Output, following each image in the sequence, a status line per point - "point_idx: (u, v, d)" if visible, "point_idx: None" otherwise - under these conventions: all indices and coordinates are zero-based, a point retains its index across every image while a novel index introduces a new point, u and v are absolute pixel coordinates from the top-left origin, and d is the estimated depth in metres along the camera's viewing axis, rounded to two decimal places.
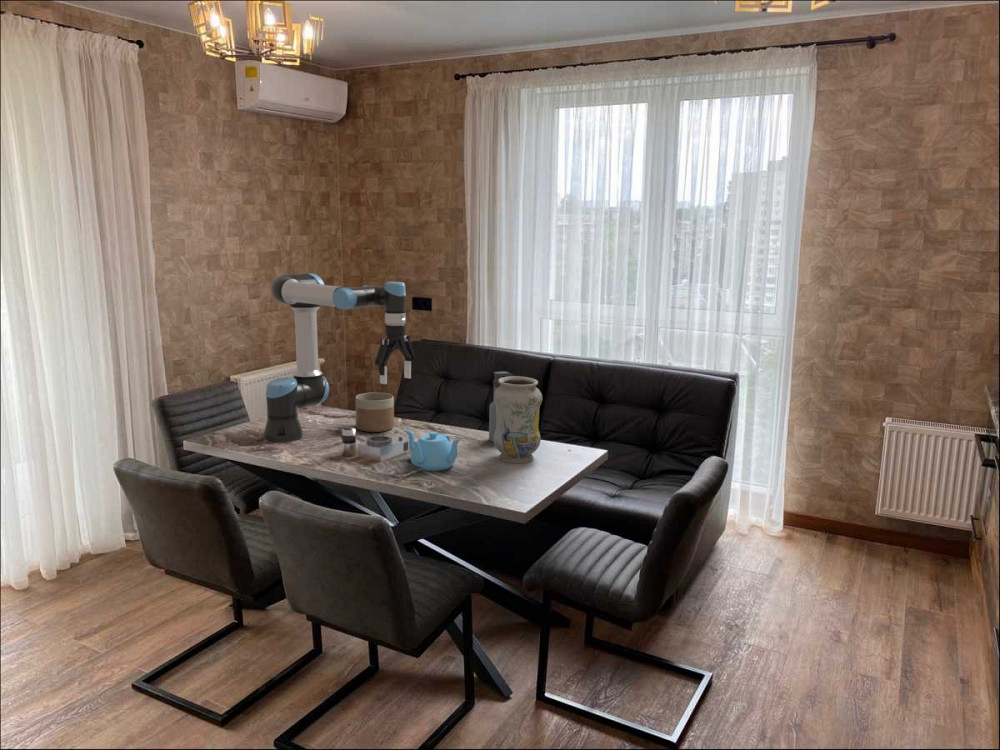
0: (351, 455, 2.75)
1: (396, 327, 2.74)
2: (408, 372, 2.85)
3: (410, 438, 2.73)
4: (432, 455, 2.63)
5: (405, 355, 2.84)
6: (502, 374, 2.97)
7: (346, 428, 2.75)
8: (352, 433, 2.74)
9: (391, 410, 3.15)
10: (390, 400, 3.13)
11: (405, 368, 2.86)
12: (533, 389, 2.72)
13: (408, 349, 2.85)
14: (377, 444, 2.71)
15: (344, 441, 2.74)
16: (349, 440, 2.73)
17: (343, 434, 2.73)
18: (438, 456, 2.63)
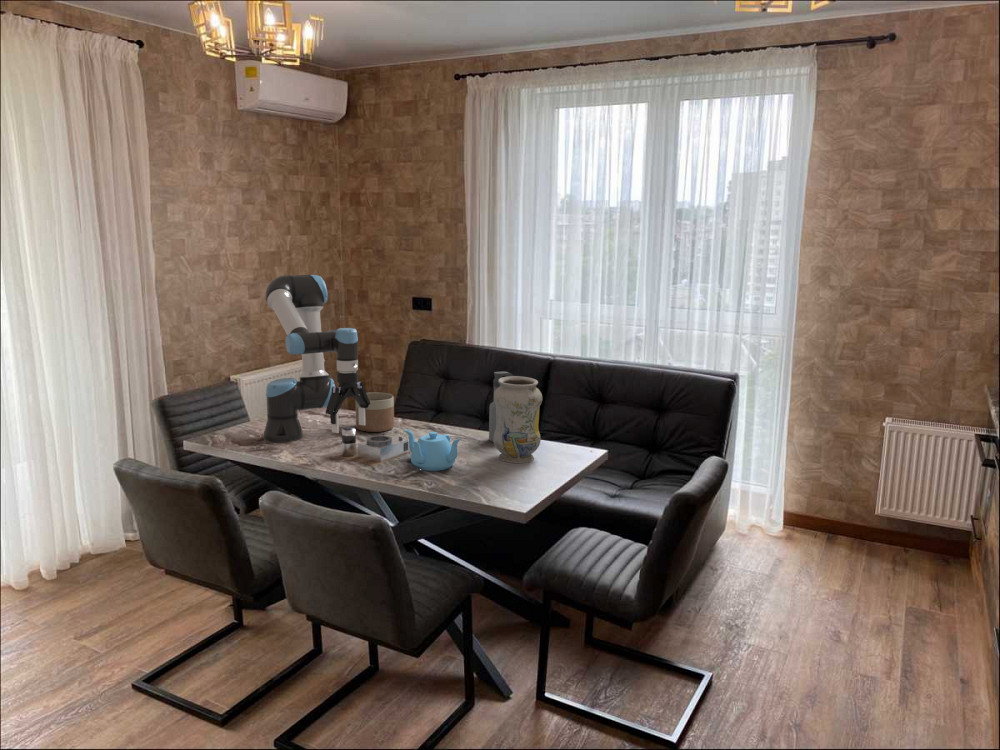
0: (351, 455, 2.75)
1: (347, 375, 2.68)
2: (362, 419, 2.79)
3: (410, 438, 2.73)
4: (432, 455, 2.63)
5: (359, 402, 2.78)
6: (502, 374, 2.97)
7: (346, 428, 2.75)
8: (352, 433, 2.74)
9: (391, 410, 3.15)
10: (390, 400, 3.13)
11: (359, 415, 2.80)
12: (533, 389, 2.72)
13: (362, 396, 2.79)
14: (377, 444, 2.71)
15: (344, 441, 2.74)
16: (349, 440, 2.73)
17: (343, 434, 2.73)
18: (438, 456, 2.63)
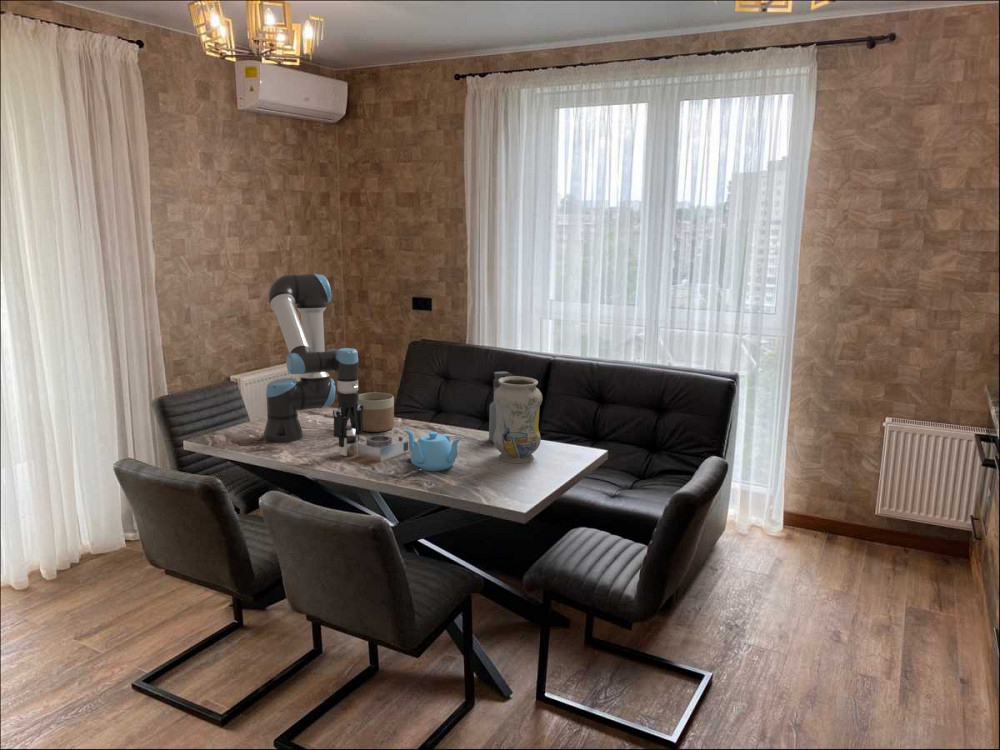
0: (351, 455, 2.75)
1: (348, 395, 2.69)
2: None
3: (410, 438, 2.73)
4: (432, 455, 2.63)
5: (353, 426, 2.77)
6: (502, 374, 2.97)
7: (346, 428, 2.75)
8: (352, 433, 2.74)
9: (391, 410, 3.15)
10: (390, 400, 3.13)
11: None
12: (533, 389, 2.72)
13: (358, 420, 2.79)
14: (377, 444, 2.71)
15: None
16: (349, 440, 2.73)
17: None
18: (438, 456, 2.63)
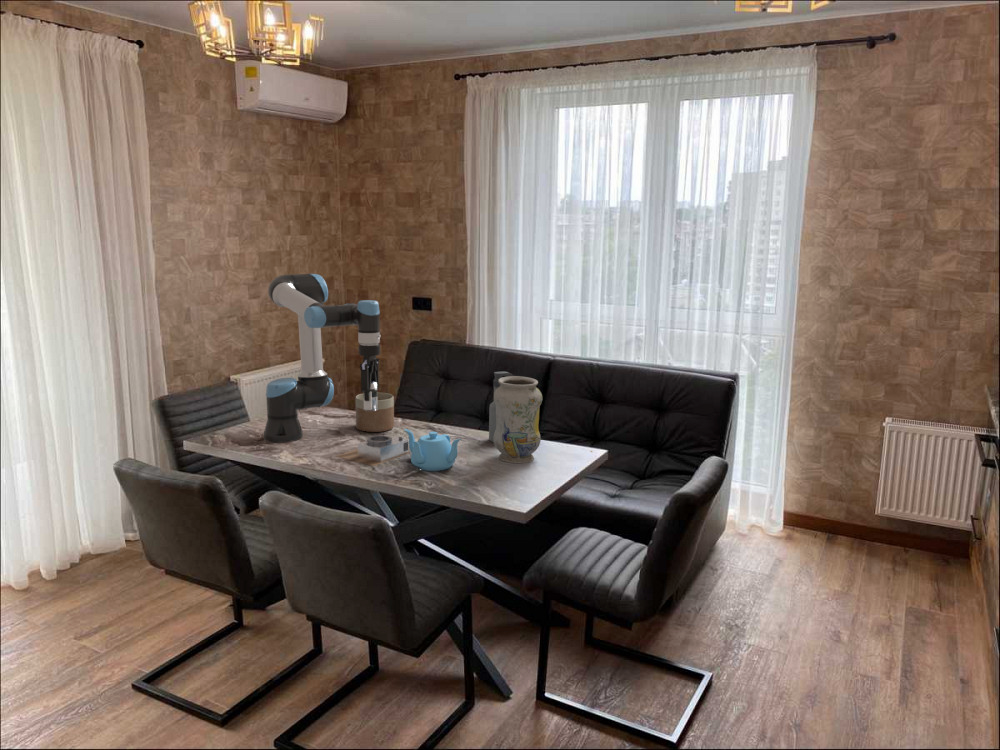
0: (375, 409, 2.71)
1: (374, 347, 2.66)
2: None
3: (410, 438, 2.73)
4: (432, 455, 2.63)
5: (372, 380, 2.73)
6: (502, 374, 2.97)
7: None
8: (376, 386, 2.70)
9: (391, 410, 3.15)
10: (390, 400, 3.13)
11: None
12: (533, 389, 2.72)
13: None
14: (377, 444, 2.71)
15: None
16: (374, 394, 2.70)
17: None
18: (438, 456, 2.63)
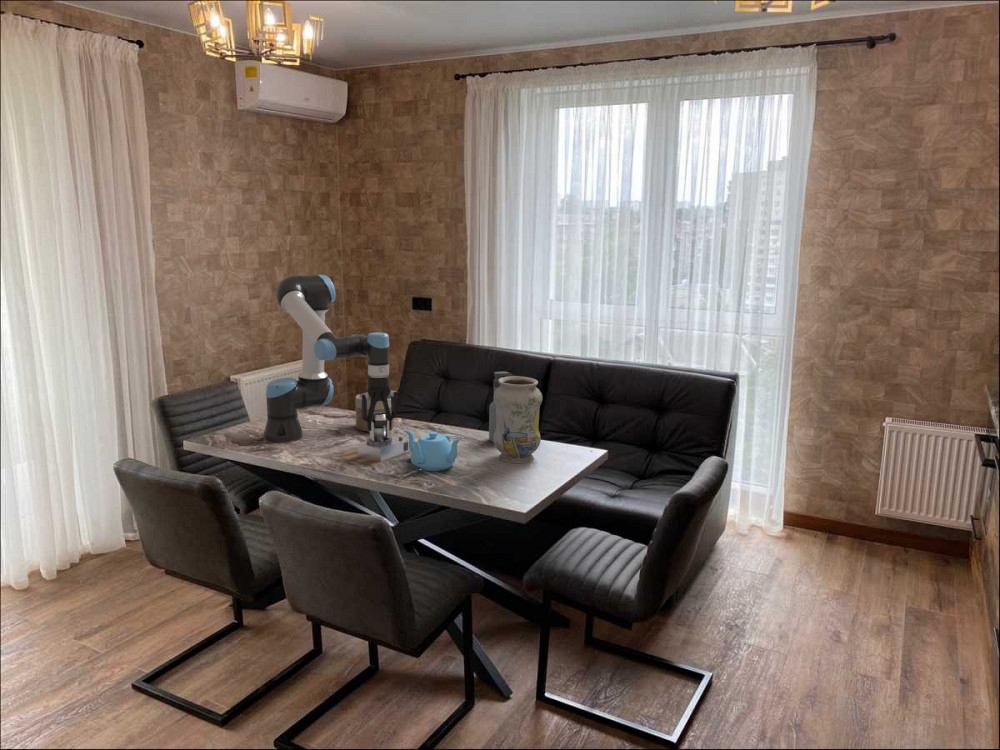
0: (378, 440, 2.73)
1: (374, 379, 2.68)
2: (386, 431, 2.75)
3: (410, 438, 2.73)
4: (432, 455, 2.63)
5: (386, 411, 2.75)
6: (502, 374, 2.97)
7: (376, 413, 2.74)
8: (379, 418, 2.72)
9: None
10: (390, 400, 3.13)
11: None
12: (533, 389, 2.72)
13: (392, 406, 2.75)
14: (377, 444, 2.71)
15: None
16: (377, 425, 2.72)
17: (372, 418, 2.73)
18: (438, 456, 2.63)
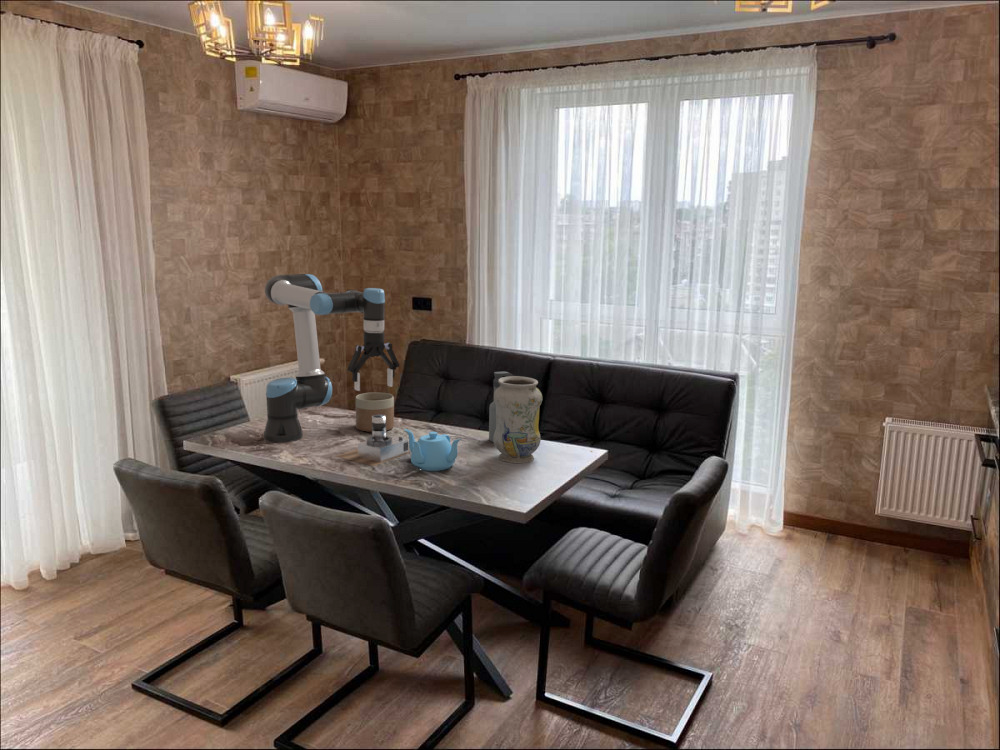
0: None
1: (371, 334, 2.70)
2: (390, 380, 2.81)
3: (410, 438, 2.73)
4: (432, 455, 2.63)
5: (387, 363, 2.79)
6: (502, 374, 2.97)
7: (376, 415, 2.74)
8: (379, 421, 2.72)
9: (391, 410, 3.15)
10: (390, 400, 3.13)
11: (388, 376, 2.82)
12: (533, 389, 2.72)
13: (391, 357, 2.80)
14: (377, 444, 2.71)
15: (372, 428, 2.73)
16: (376, 428, 2.72)
17: (372, 421, 2.73)
18: (438, 456, 2.63)
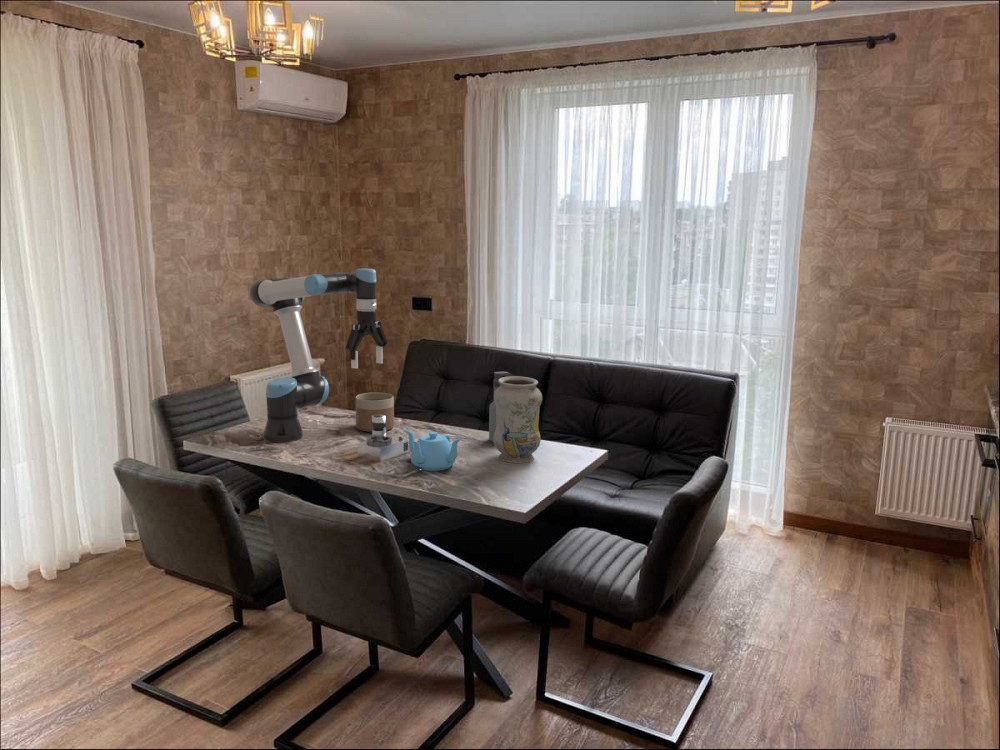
0: None
1: (367, 313, 2.80)
2: (380, 357, 2.92)
3: (410, 438, 2.73)
4: (432, 455, 2.63)
5: (377, 341, 2.90)
6: (502, 374, 2.97)
7: (376, 415, 2.74)
8: (379, 421, 2.72)
9: (391, 410, 3.15)
10: (390, 400, 3.13)
11: (377, 353, 2.92)
12: (533, 389, 2.72)
13: (380, 335, 2.91)
14: (377, 444, 2.71)
15: (372, 428, 2.73)
16: (376, 427, 2.72)
17: (372, 421, 2.73)
18: (438, 456, 2.63)
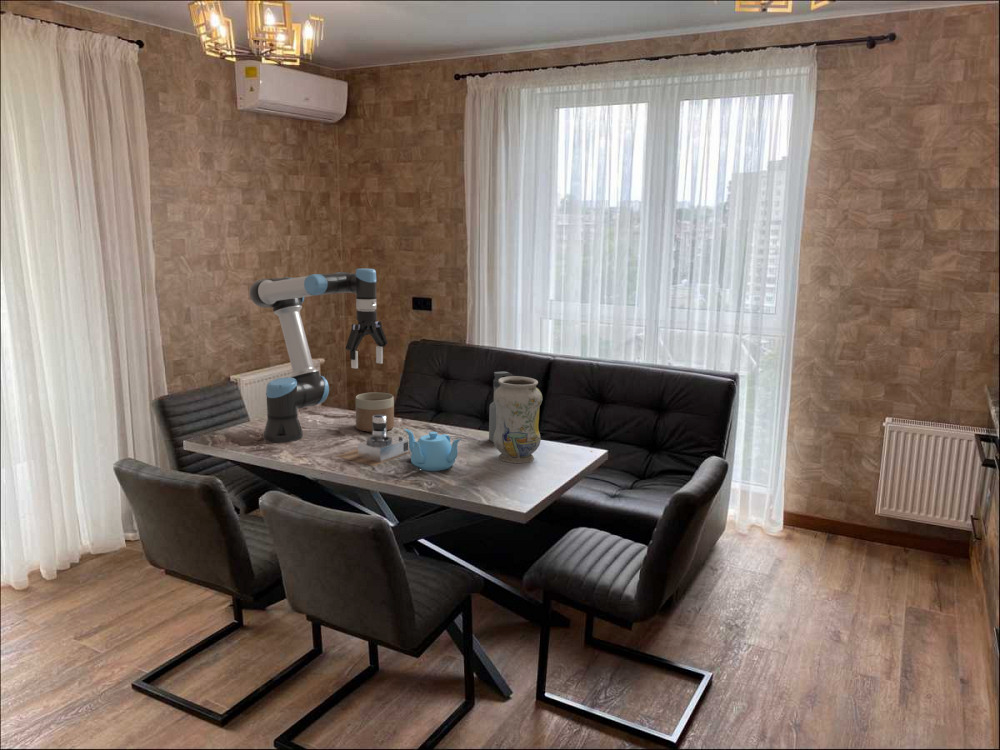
0: None
1: (367, 313, 2.80)
2: (380, 357, 2.92)
3: (410, 438, 2.73)
4: (432, 455, 2.63)
5: (377, 341, 2.90)
6: (502, 374, 2.97)
7: (377, 415, 2.74)
8: (379, 421, 2.72)
9: (391, 410, 3.15)
10: (390, 400, 3.13)
11: (377, 353, 2.92)
12: (533, 389, 2.72)
13: (380, 335, 2.91)
14: (377, 444, 2.71)
15: (373, 428, 2.73)
16: (376, 428, 2.72)
17: (372, 421, 2.73)
18: (438, 456, 2.63)
